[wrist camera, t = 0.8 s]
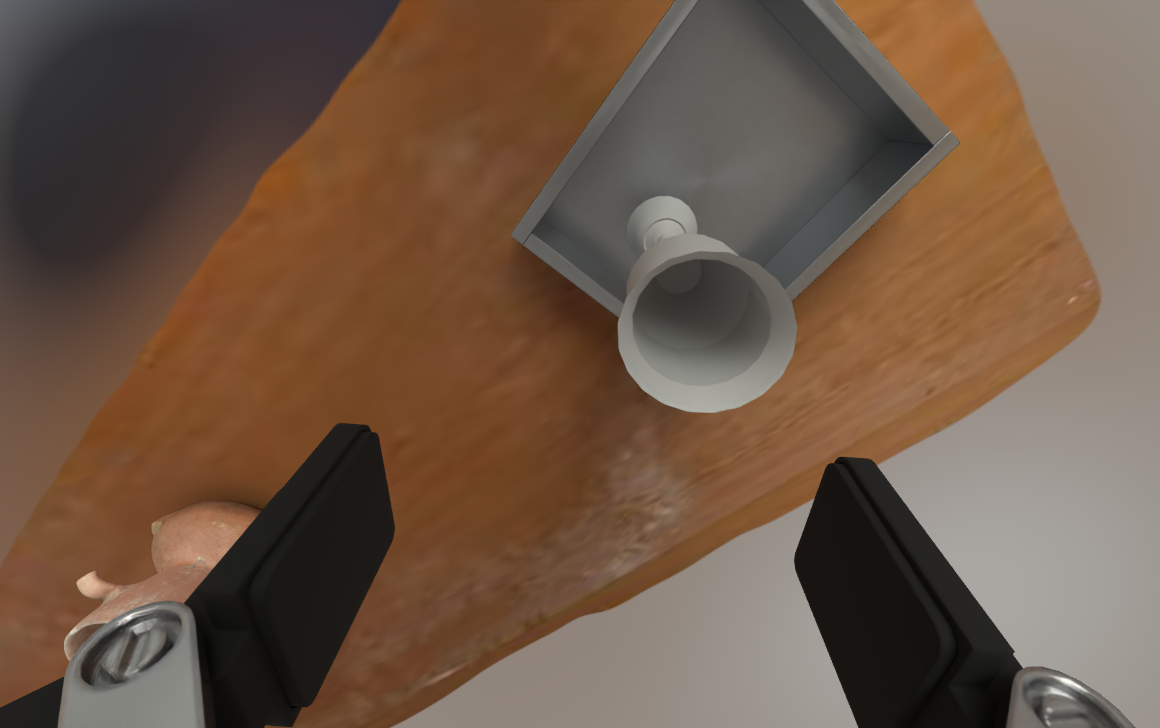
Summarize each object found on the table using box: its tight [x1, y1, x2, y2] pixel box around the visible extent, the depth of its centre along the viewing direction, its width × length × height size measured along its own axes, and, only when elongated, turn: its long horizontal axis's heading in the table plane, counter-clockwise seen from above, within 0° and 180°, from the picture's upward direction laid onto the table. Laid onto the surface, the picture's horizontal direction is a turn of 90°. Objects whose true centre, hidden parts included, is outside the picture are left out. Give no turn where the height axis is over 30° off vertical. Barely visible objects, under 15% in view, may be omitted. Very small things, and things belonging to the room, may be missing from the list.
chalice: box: [618, 196, 797, 413], centre depth 28 cm, size 7×7×18 cm
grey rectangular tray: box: [510, 0, 960, 318], centre depth 32 cm, size 17×20×5 cm
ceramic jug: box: [64, 501, 261, 661], centre depth 47 cm, size 18×14×14 cm
